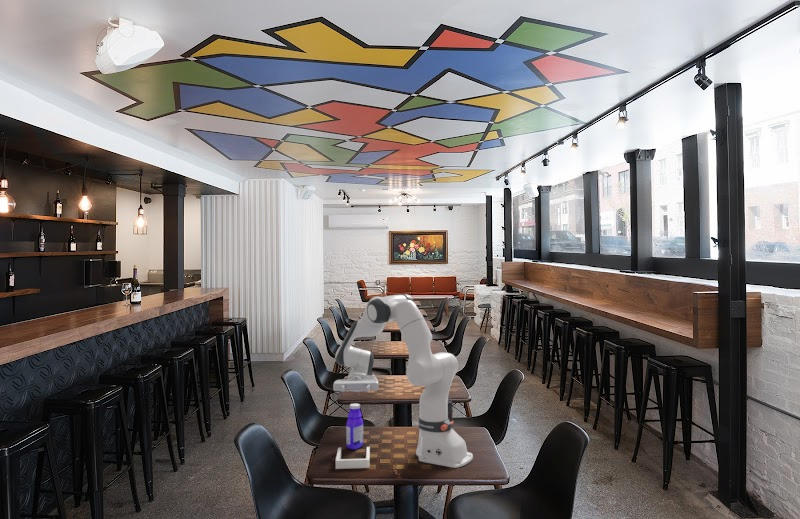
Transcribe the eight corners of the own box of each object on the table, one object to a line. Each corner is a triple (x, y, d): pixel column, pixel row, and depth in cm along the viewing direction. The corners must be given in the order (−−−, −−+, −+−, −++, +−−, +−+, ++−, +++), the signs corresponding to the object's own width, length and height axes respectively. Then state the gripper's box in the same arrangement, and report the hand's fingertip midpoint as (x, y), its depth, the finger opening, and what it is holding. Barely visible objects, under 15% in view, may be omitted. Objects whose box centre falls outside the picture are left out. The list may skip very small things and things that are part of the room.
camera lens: (433, 437, 207) (432, 402, 207) (435, 430, 215) (435, 397, 215) (451, 438, 205) (451, 403, 205) (453, 431, 213) (453, 398, 213)
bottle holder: (338, 455, 189) (338, 447, 189) (369, 454, 189) (369, 446, 189) (335, 468, 176) (335, 460, 176) (369, 467, 177) (369, 459, 177)
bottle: (355, 442, 201) (355, 401, 201) (365, 445, 198) (365, 403, 198) (343, 448, 196) (343, 405, 196) (354, 451, 192) (353, 408, 192)
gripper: (334, 375, 222) (331, 383, 208) (378, 374, 223) (378, 382, 209) (334, 388, 222) (331, 397, 208) (378, 388, 223) (378, 396, 210)
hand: (355, 390), depth 209 cm, fingers open, 8 cm apart
